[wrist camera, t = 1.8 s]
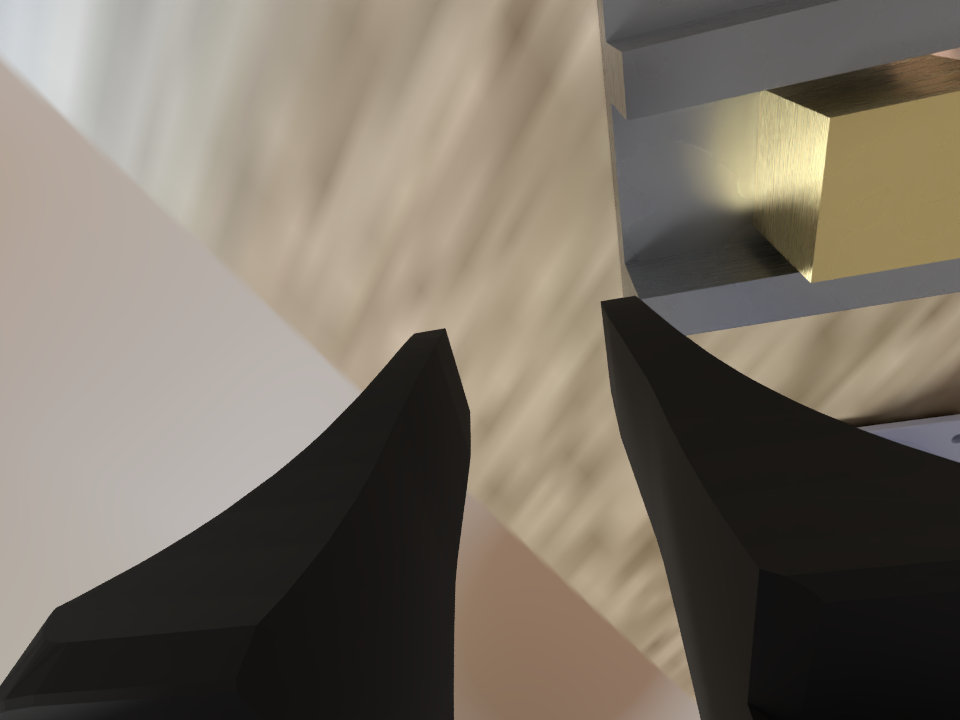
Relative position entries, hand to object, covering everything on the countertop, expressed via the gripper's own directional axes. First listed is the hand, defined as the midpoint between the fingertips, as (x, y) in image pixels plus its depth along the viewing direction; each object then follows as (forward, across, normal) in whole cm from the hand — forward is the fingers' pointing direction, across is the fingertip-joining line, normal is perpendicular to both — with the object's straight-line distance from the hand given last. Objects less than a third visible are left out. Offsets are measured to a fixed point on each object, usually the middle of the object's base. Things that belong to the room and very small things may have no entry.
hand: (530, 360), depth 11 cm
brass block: (+8, -9, 0) cm, 12 cm away
